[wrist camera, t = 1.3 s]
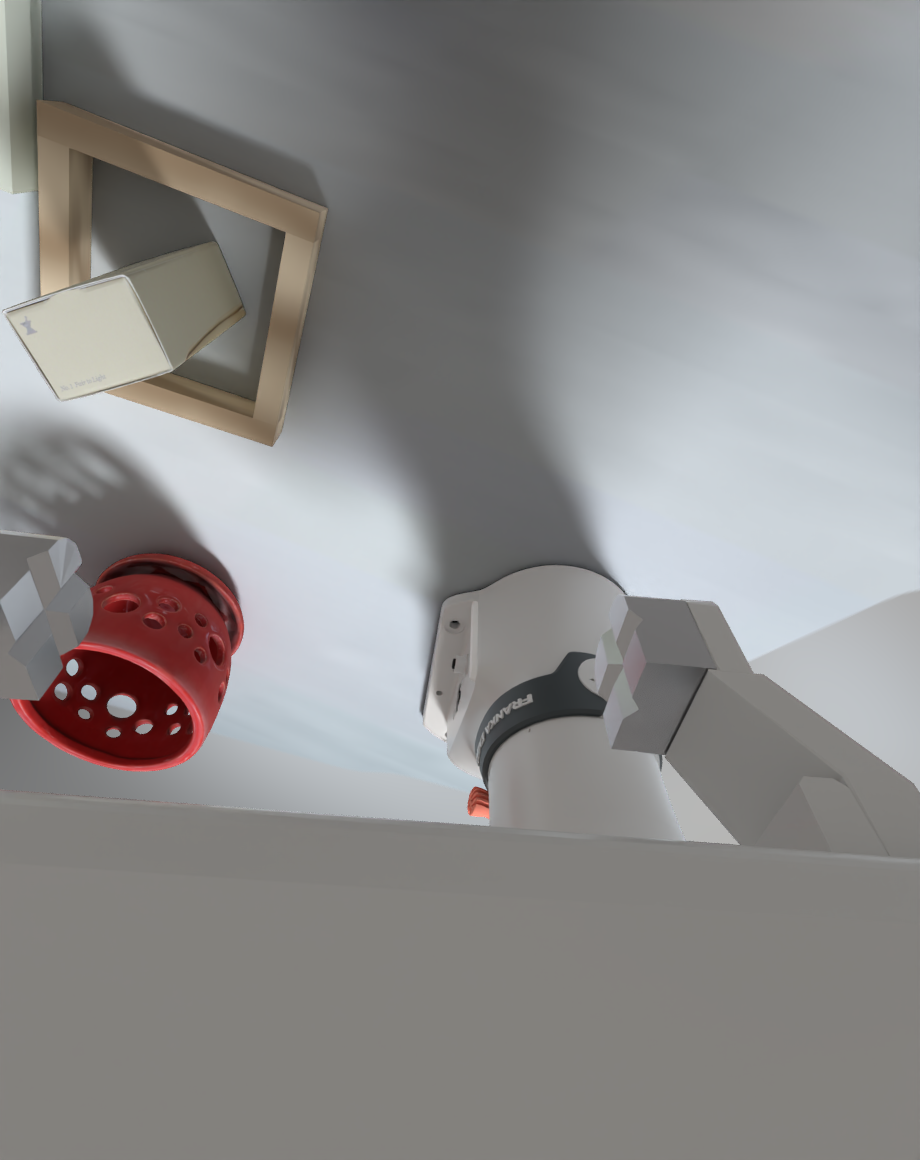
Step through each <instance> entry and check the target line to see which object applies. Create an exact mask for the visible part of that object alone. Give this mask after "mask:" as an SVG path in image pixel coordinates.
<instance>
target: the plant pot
mask: <svg viewBox="0 0 920 1160" xmlns="http://www.w3.org/2000/svg"><path fill="white" fill-rule="evenodd" d="M90 590H91V594H92V598H93V617H92V620H91V624H90V627H89V631H88V633H87V635H86V636H85V638H84V639H83V641H82V642H81V643H80V645H79V646H78V647H76V648H74V649H72V650H70V651H68V652H66V653H65V654H63V655H61V656H60V657H61V661H62V664H63V668H62V670H61V671H60V673H59V674H58V675H57V677H56V678H55V679H54V681H53V682H52V684H51V685H50V686H49V688H48V689H47V690H46V692H45V693H44V694H43V696H42V697H41V699H40V700H39V701H37V700H20V699H10V701H11V702H12V705H13V707H14V708H15V710H16V711H17V713H18V714H19V715H20V716H21V718H22V719H23V720H24V721H25V722H26V724H27V725H28V726H29V727H30V728H32V729H33V730H34V731H35V732H36V733H37V734H39V735H40V736H41V737H43V738H44V739H46V740H47V741H49V742H50V743H51V744H53V745H54V746H56V747H58V748H60V749H61V750H63V751H65V752H67V753H69V754H71V755H74V756H76V757H78V758H80V759H83V760H85V761H88V762H91V763H94V764H97V765H100V766H104V767H108V768H113V769H119V770H127V771H155V770H162V769H166V768H170V767H174V766H176V765H179V764H181V763H183V762H185V761H187V760H188V759H190V758H191V757H192V756H193V755H194V754H195V753H196V752H197V751H198V750H199V749H200V747H201V746H202V744H203V742H204V741H205V739H206V737H207V735H208V733H209V732H210V730H211V728H212V726H213V723H214V721H215V719H216V717H217V714H218V712H219V709H220V707H221V704H222V702H223V699H224V696H225V693H226V689H227V685H228V680H229V675H230V668H231V656H232V655H233V654H234V653H235V652H236V650H237V649H238V647H239V646H240V643H241V641H242V638H243V633H244V621H243V616H242V612H241V609H240V606H239V604H238V602H237V599H236V598H235V596H234V595H233V593H232V592H231V591H230V590H229V588H228V587H227V586H226V585H225V584H224V583H223V582H222V581H221V580H220V579H218V578H217V577H216V576H215V575H213V574H212V573H211V572H209V571H208V570H206V569H205V568H203V567H201V566H199V565H197V564H195V563H193V562H191V561H188V560H185V559H183V558H179V557H175V556H171V555H165V554H152V553H149V554H139V555H133V556H130V557H126V558H124V559H121V560H119V561H117V562H116V563H114V564H112V565H111V566H110V567H108V568H107V569H106V570H105V571H104V572H103V573H102V574H101V575H100V577H99V579H98V580H97V583H96V585H95V586H94V587H92V588H90ZM72 659H75V660H76V661H77V663H78V671H77V673H76V674H75V675H73V676H70V675H69V674H68V673H67V671H66V666H67V663H68V662H69V661H70V660H72ZM59 683H62V684H64V685H65V686H66V688H67V696H66V698H65V699H64V700H60V699H58V698H57V697H56V696H55V693H54V690H55V687H56V686H57V685H58V684H59ZM84 685H91V686H93V687H94V688H95V690H96V693H97V695H96V697H95V699H94V700H88V699H86V698H85V697H83V695H82V693H81V689H82V687H83V686H84ZM116 695H125V696H128V697H130V698H132V699H133V700H134V701H135V703H136V711H135V712H134V714H133V715H131V716H129V717H127V718H118V717H115V716H112V715H111V714H110V713H109V712H108V709H107V703H108V701H109V699H110V698H112V697H114V696H116ZM172 706H178V709H177V711H176V712H175V713H174V714H172V715H167V714H166V713H167V710H168V709H169V708H171V707H172ZM80 709H85V710H87V711H88V712H89V713H90V718H89V719H82V718H81V717H80V716H79V715H78V710H80ZM189 712H190V715H188V713H189ZM142 724H152V725H153V727H152V729H151V730H150V731H149V732H148V733H146V734H139V733H137V732H136V731H135V730H136V728H137V727H138V726H140V725H142ZM179 726H181V728H180V730H179V731H178V732H177V733H175V734H173V735H170V734H171V732H172V730H173V729H175V728H176V727H179ZM110 729H117V730H119V731H120V733H121V734H120V736H118V737H116V738H111V737H109V736H107V734H106V732H107V731H108V730H110ZM192 731H193V732H192Z"/></svg>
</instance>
